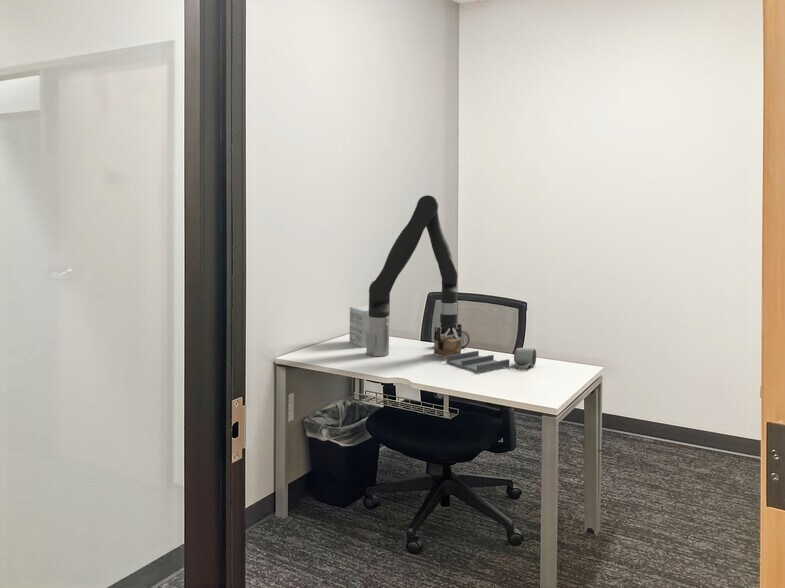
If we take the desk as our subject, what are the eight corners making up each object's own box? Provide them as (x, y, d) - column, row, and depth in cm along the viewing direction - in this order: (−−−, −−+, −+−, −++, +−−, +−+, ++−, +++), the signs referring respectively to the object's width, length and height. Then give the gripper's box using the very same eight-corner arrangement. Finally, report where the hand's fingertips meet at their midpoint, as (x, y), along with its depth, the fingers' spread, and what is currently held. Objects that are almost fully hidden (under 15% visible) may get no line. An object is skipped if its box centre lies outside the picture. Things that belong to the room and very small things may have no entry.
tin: (469, 347, 291) (470, 329, 290) (469, 348, 288) (470, 331, 287) (437, 345, 293) (438, 328, 291) (437, 347, 290) (437, 329, 288)
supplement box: (372, 339, 303) (372, 304, 301) (386, 345, 292) (387, 308, 290) (348, 342, 296) (349, 306, 294) (362, 348, 285) (362, 310, 283)
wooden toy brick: (452, 359, 267) (452, 341, 266) (434, 354, 276) (434, 336, 275) (460, 357, 270) (461, 340, 269) (442, 352, 279) (442, 335, 278)
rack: (478, 373, 245) (478, 365, 245) (446, 363, 260) (446, 356, 260) (509, 366, 256) (509, 359, 256) (476, 357, 271) (477, 350, 271)
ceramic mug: (517, 362, 264) (517, 344, 263) (536, 364, 261) (537, 346, 259) (510, 368, 255) (511, 350, 253) (530, 370, 251) (531, 352, 250)
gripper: (454, 309, 278) (453, 344, 280) (430, 312, 269) (430, 348, 271) (466, 312, 272) (465, 347, 274) (442, 315, 263) (441, 352, 266)
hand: (447, 348), depth 273 cm, fingers open, 8 cm apart
